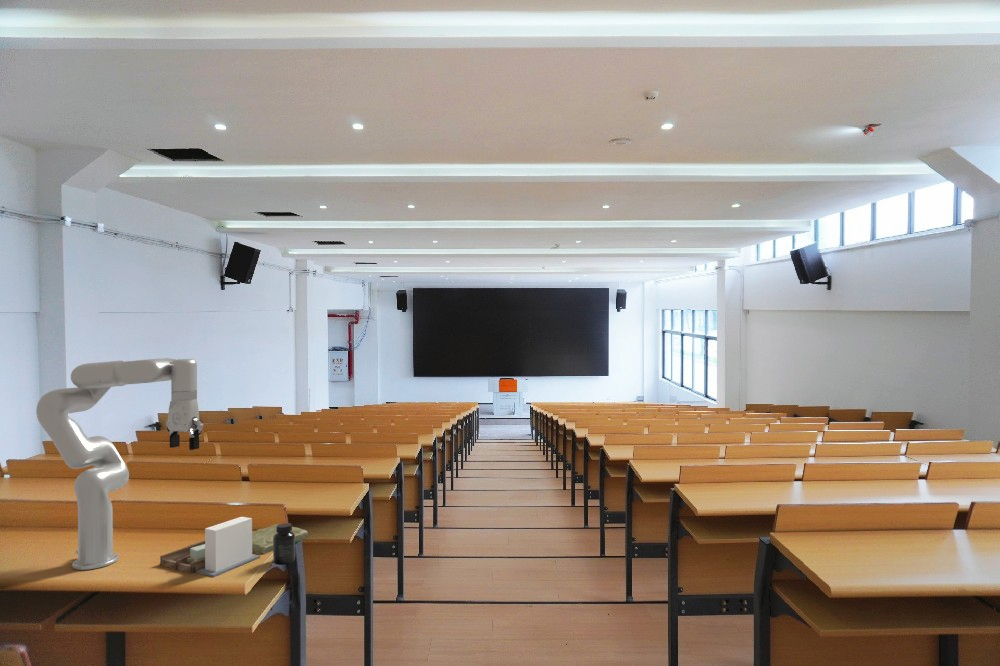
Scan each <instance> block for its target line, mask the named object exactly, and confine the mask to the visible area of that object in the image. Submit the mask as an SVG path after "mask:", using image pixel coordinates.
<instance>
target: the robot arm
mask: <svg viewBox="0 0 1000 666" xmlns="http://www.w3.org/2000/svg"><path fill="white" fill-rule="evenodd" d="M70 380H71V382H72V384H73V385H74V386H75V387H69V388H68V387H66V388H60V389H54V390H51V391H48V392H46V393H44V394H43V395H42V396H41V397H40V398H39V400H38V401H37V404H36V411H35V412H36V418H37V420H38V423H39V424H40V425H41V427H42V428H43V430H44V431H45V433H46V434H47V435H48V437H50V439H51V442H52V443H53V445H54V446H55V449H56V450H57V452H58V453H59V454H60V457H61V458H62V460H63V462H64V463H65V465H66V466H68V468H70V469H73V470H79V469H84V468H88V467H90V466H93V467H91V468H89V469H86V470H84V471H82V472H81V473H80V474H78V476H77V477H76V479H75V481H74V484H73V486H74V487H73V488H74V493H75V497H76V503H77V550H75V551H74V552H75V554H76V555H77V559H76V560H74V561H73V562H72V565H71V567H72V569H74V570H79V571H80V570H82V571H84V570H85V571H86V570H94V569H100V568H103V567H106V566H110V565H112V564H113V563H115V562H117V561H118V560H119V555H118V553H115V552H114V551H113V550H114V548H113V547H114V546H113V545H114V544H113V543H114V541H113V539H114V536H113V531H114V529H113V528H114V524H113V523H114V522H113V521H114V520H113V519H114V517H113V516H114V515H113V514H114V513H113V510H114V509H113V503H112V501H111V499H110V497H109V493H111V492H114V491H116V490H119V489H121V488H123V487H124V486H126V484H127V483H128V482H129V480H130V472H129V469H128V466H127V465H126V462H125V461H124V460H123V458H122V456H121V455H120V453H119V451H118V450H117V448H116V446H115V444H114V443H113V442H112V440H110V439H109V438H107V437H105V436H101V435H95V436H89V437H88V436H87V435H86V434H85V432H84V430H83V429H82V427H81V426H80V424H79V423H78V422H76V420H74V419H73V418H71V417H70V416H69V415H68V414H74V413H80V412H86V411H89V410H90V409H92V408H93V407H95V406H96V405H97V404H98V403H99V402H100V400H101V399H102V398H103V397H104V396H105V395H106V394H107V393H108V391H110V389H111V388H115V387H123V386H126V385H138V384H151V383H157V382H167V381H171V382H170V383H171V384H170V385H171V391H170V392H171V393H170V394H171V397H170V402H169V406H168V414H167V420H166V421H165V425H166V430H167V432H168V435H169V448H171V449H172V448H177V447H180V446H181V445H180V442H181V441H180V438H181V437H180V435H181V434H179V433H180V432H181V433H186V432H187V433H188V434H189V438H188V441H189V443H188V449H189V450H190V451H194V450H198V449H200V437H201V434H202V432H203V428H204V427H205V426H204V425H205V424H204V423H202V422H201V420H200V414H199V413H200V411H199V410H200V409H199V403H198V364H197V361H196V360H195V359H193V358H180V359H179V358H178V359H177V358H176V359H175V358H169V357H168V358H167V357H166V358H149V359H148V358H147V359H138V360H127V361H124V360H113V361H112V360H111V361H100V362H90V363H82V364H80V365H77V366H76V367H74V368H73V370H72V371H71V373H70Z"/></svg>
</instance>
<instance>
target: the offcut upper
mask: <svg viewBox="0 0 1000 666" xmlns="http://www.w3.org/2000/svg"><path fill="white" fill-rule="evenodd" d="M190 557H191V558H193V559H195V560H198V559H202V558H205V544H203V545H200V546H196V547H193V548H190Z"/></svg>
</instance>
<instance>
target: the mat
mask: <svg viewBox="0 0 1000 666" xmlns="http://www.w3.org/2000/svg"><path fill="white" fill-rule="evenodd" d="M260 558H261V555H260V554H259V555H258V554H253V553H252V557H251V558H248V559H246V560H244V561H241V562H239V563H236V564H234V565H231V566H229V567H227V568H224V569H222V570H219V571H217V572H214V571H210V570H206V569H205V568H202V569H200V570H197V572H196V574H200V575H204V576H209V577H212V578H215V577H217V576H219V575H222V574H225V573H227V572H229V571H231V570H234V569H236V568H238V567H241V566H244V565H245V564H249V563H250V562H253V561H255V559H256V560H258V559H260Z"/></svg>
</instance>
